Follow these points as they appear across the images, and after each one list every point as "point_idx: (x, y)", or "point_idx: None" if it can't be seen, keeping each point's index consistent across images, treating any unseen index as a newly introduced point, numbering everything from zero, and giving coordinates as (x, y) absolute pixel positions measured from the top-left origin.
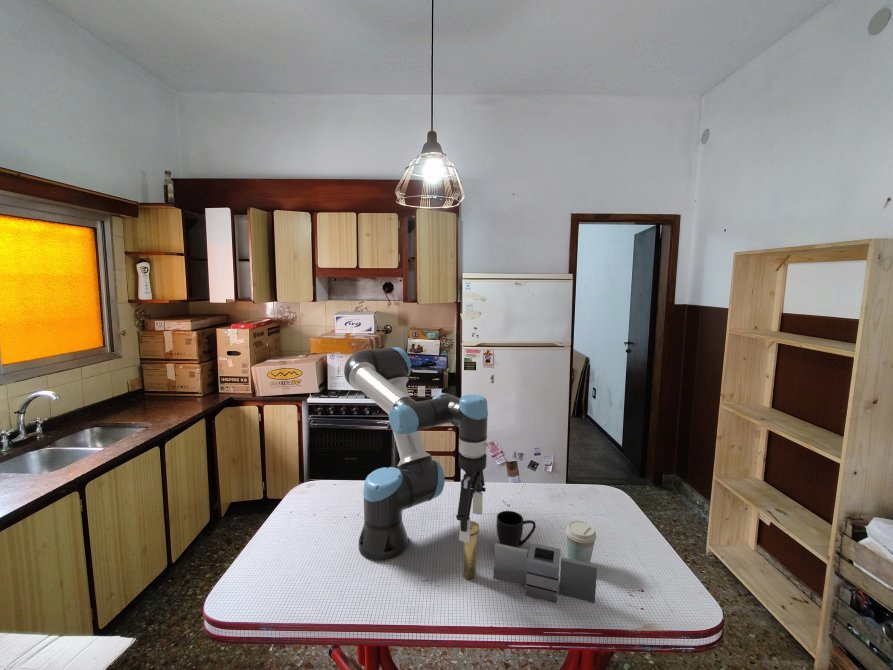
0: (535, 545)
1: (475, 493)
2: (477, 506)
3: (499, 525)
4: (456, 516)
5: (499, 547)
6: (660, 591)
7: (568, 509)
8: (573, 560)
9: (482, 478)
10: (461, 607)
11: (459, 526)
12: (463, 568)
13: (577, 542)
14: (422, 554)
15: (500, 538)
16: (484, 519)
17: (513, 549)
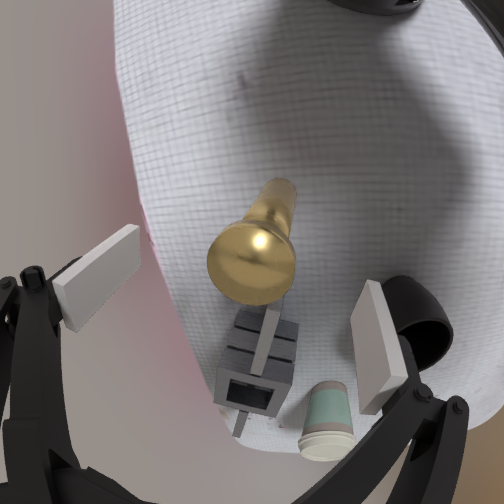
0: (281, 390)
1: (380, 383)
2: (363, 328)
3: (401, 316)
4: (23, 272)
5: (264, 319)
6: (281, 436)
7: (470, 387)
8: (243, 422)
9: (387, 500)
10: (176, 184)
11: (86, 254)
12: (269, 184)
13: (303, 435)
14: (348, 56)
15: (392, 293)
16: (496, 241)
17: (256, 350)
